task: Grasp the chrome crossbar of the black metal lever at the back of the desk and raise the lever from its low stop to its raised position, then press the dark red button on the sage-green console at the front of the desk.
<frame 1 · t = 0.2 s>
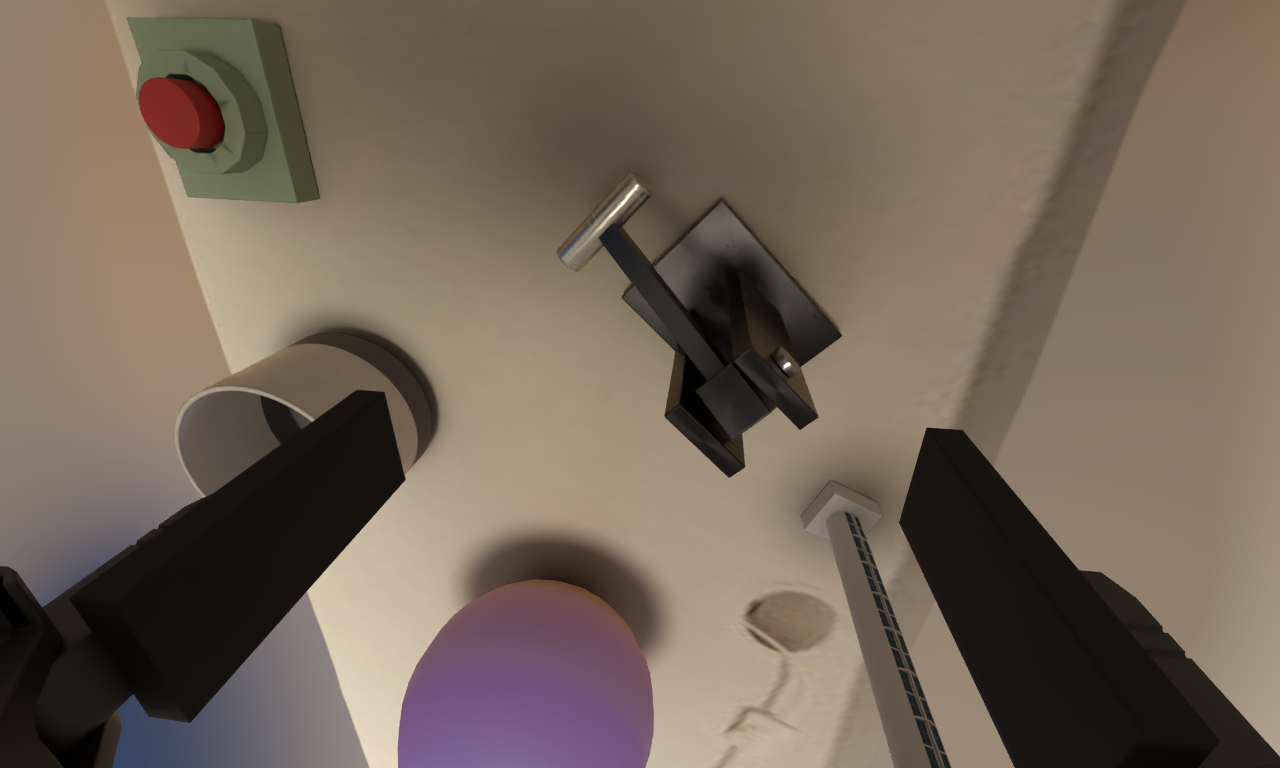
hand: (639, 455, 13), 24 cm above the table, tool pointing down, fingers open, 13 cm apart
model tower: (837, 507, 42), on the table
button: (182, 114, 30), point 4 cm above the table, slide at 0.1 cm
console: (245, 116, 34), on the table
bracket: (730, 311, 36), on the table
lever: (671, 312, 25), point 11 cm above the table, hinge at -25.0°
planter: (367, 398, 43), on the table
ball: (564, 607, 51), on the table
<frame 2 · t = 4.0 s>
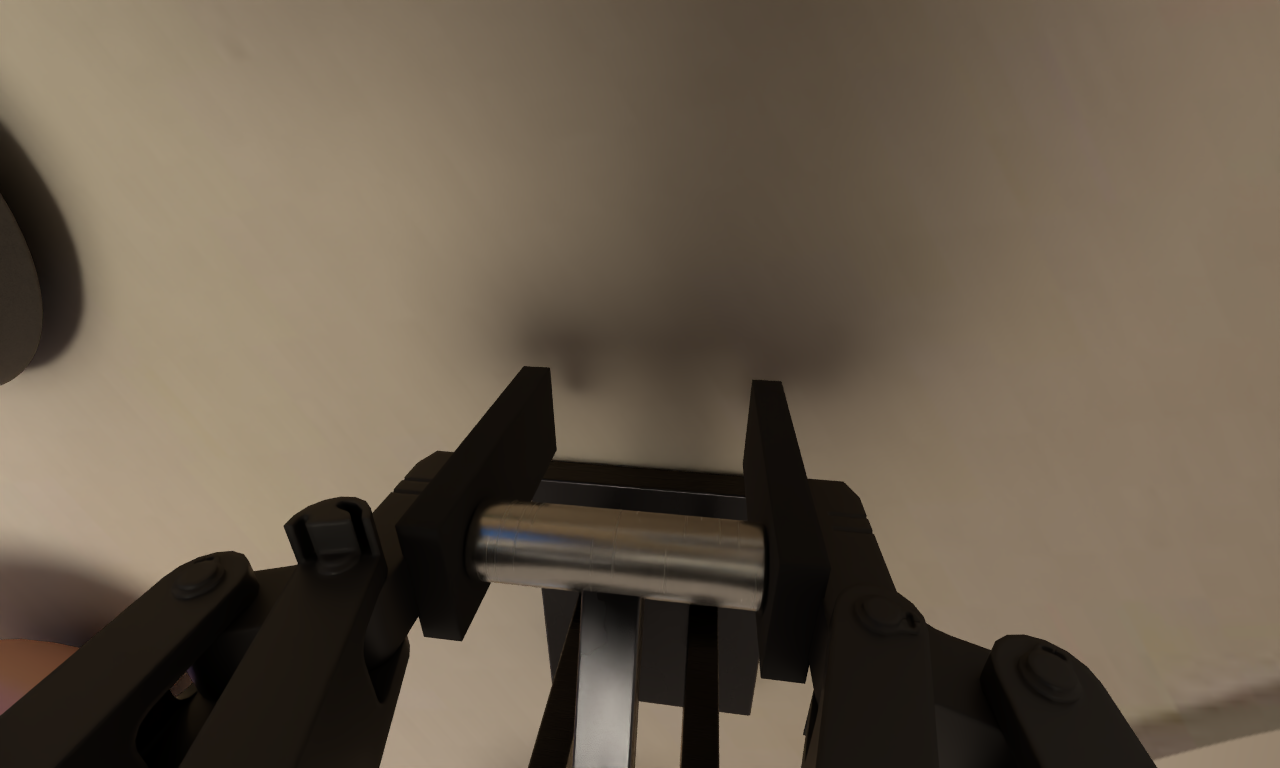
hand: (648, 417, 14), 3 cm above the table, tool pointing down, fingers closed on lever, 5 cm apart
bracket: (654, 586, 22), on the table
ball: (119, 675, 31), on the table
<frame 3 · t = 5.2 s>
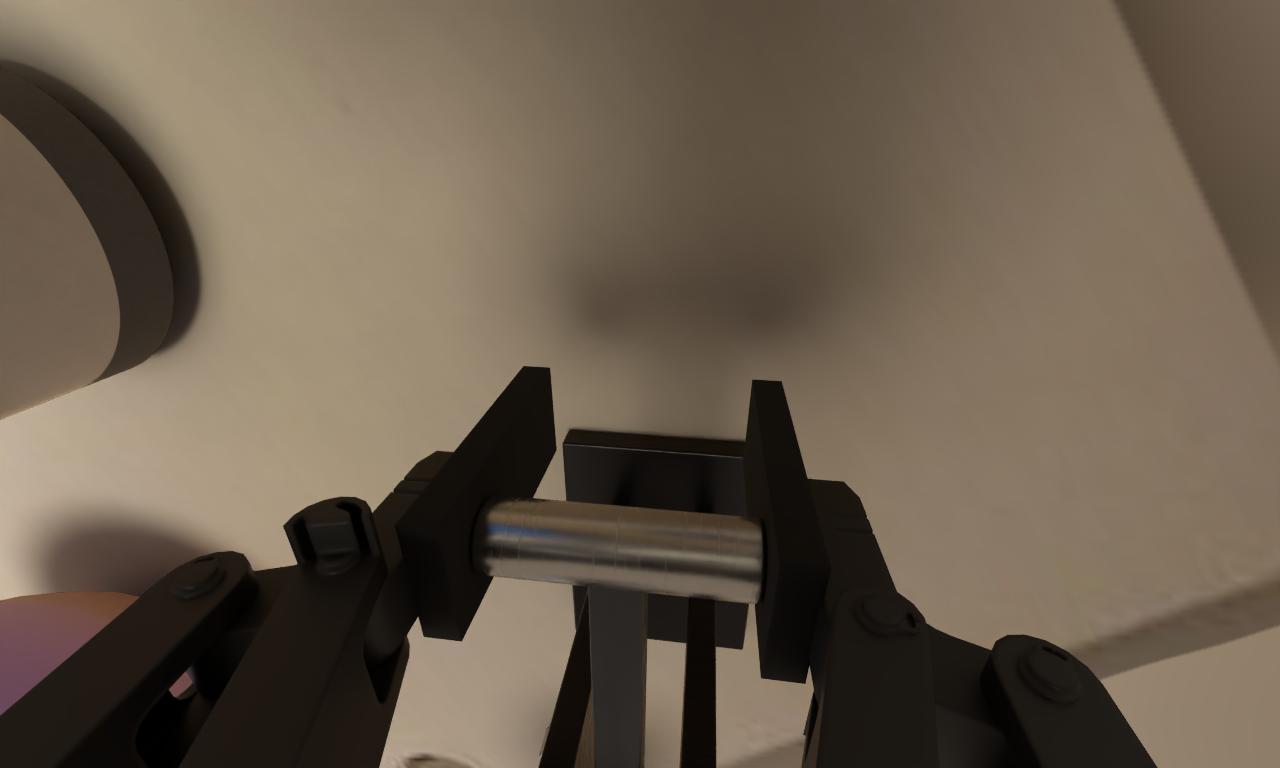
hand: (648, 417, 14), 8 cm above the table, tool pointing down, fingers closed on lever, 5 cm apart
bracket: (662, 538, 26), on the table
lever: (620, 740, 12), point 13 cm above the table, hinge at -2.8°, touching gripper
planter: (67, 226, 23), on the table
ball: (189, 630, 35), on the table
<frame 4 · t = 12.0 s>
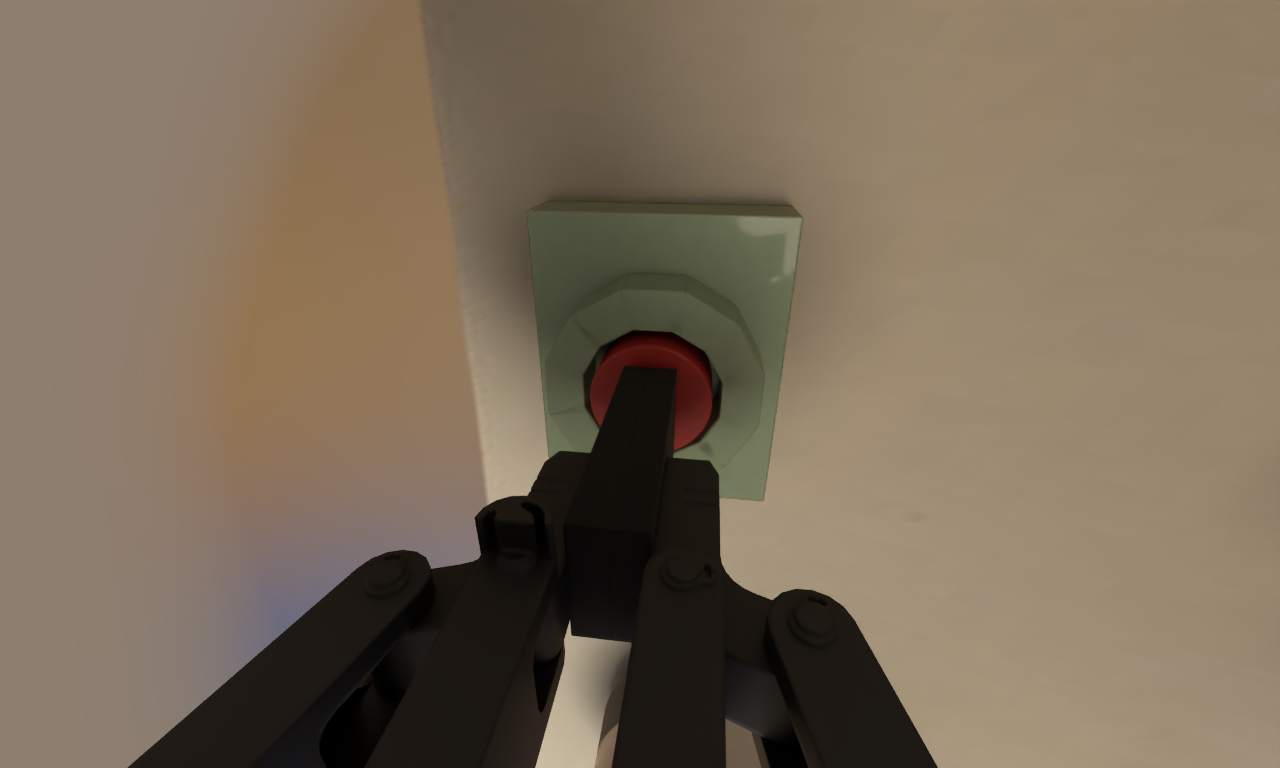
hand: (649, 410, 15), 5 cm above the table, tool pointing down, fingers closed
button: (653, 389, 16), point 4 cm above the table, slide at -0.8 cm, touching gripper
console: (663, 346, 19), on the table
planter: (726, 705, 28), on the table
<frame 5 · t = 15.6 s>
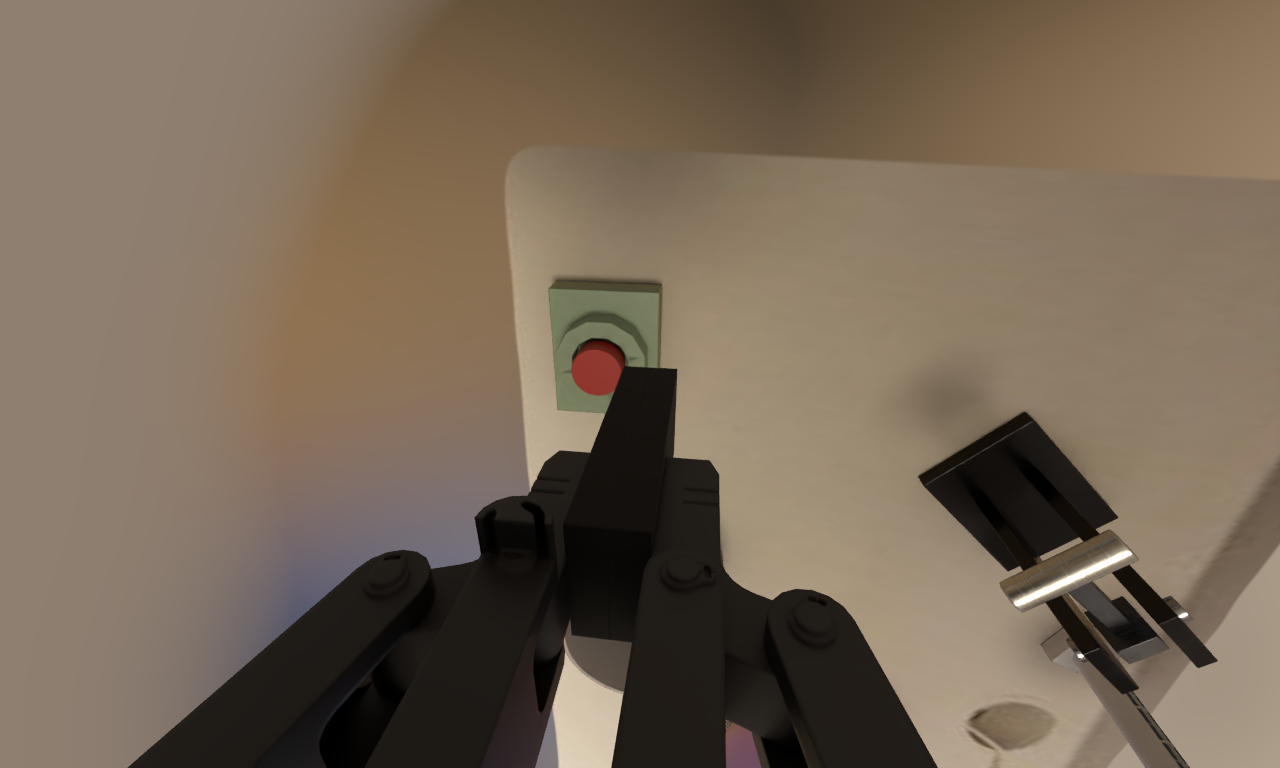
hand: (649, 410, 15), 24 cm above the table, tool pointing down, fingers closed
model tower: (1075, 638, 48), on the table
button: (598, 368, 37), point 4 cm above the table, slide at 0.1 cm
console: (610, 344, 41), on the table
bracket: (1012, 492, 42), on the table
lever: (1100, 605, 28), point 15 cm above the table, hinge at 18.2°
planter: (655, 547, 50), on the table
ball: (795, 710, 57), on the table
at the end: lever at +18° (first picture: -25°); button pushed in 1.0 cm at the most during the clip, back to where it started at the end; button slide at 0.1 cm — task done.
